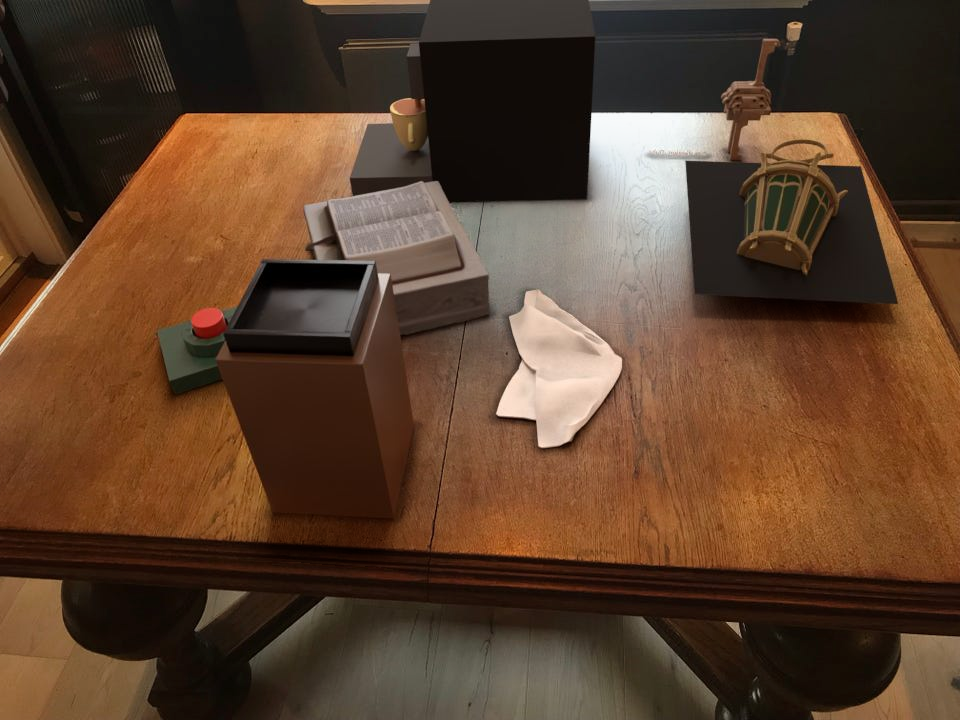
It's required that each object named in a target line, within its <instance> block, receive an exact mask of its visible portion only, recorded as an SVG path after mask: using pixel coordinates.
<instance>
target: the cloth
mask: <svg viewBox="0 0 960 720" xmlns="http://www.w3.org/2000/svg"><path fill="white" fill-rule="evenodd" d="M524 295H525V296H524V301H523V307H522V308H521V310H520V311H519V312H517V313H513V314H511V315H509V316H508V319H509V323H510V328H511V331H512V335H513V336H512V337H513V338H514V341H515V345H516V347H517V351H518V354H519V355H520V357H521V362H520V364H519V366H518V369H517V371H516V372H515V373H514V375H513V376H512V377H511V379H510V380H509V382H508V384H507V385H506V388H505V389H504V391H503V394H502V396H501V398H500V401H499V403H498V407H497V410H496V412H495V415H496V416H497V417H498V418H510V419H511V418H512V419H514V418H515V419H526V420H529V421H536V433H537V447H538V448H540V449H548V448H557V447H560V446H562V445H565V444H566V443H568V442H573V439H574V437H575V435H576V433H577V432H578V431H580V430H581V429H582V427H584V425H586V424H587V423H588V421H589V420H590V419H591V418H592V416H593V415H594V414H595V412H596V411H597V410H598V409H599V408H600V406H602V404H603V402H604V401H605V399H606V397H607V396H608V395H609V394H610V391H611V390H612V389H613V387H614V385H615V384H616V382H617V380H618V379H619V377H620V375H621V373H622V369H623V357H621V356H620V355H617V354H616V353H615V352H614V350H613V349H612V348H611V346H610V345H609V343H607V342H606V341H605V340H604V339H602V338H601V337H600V336H599V335H598V334H597V333H595V332H594V331H593V330H592V329H590V328H589V327H587V326H586V325H584V324H583V323H581V322H580V321H579V320H578V319H577V318H576V317H575V316H574V315H572V314H570V313H569V312H567V311H565V310H563V309H562V308H560V306H559V305H558V304H557V303H556V302H554V300H553V299H551V298H550V297H549V296H547V295H545V294H543V293H542V291H541V289H540V288H537V289H531V290H527V291H525V294H524Z"/></svg>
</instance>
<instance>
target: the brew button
mask: <svg viewBox="0 0 960 720" xmlns="http://www.w3.org/2000/svg"><path fill="white" fill-rule="evenodd" d="M220 310H221V309H219V308H216V307H208V308H207V307H206V308H203V309H200V310H197V312H196V313H194V314H193V315H192V317H191V318H190V319H191V324H192V326H193V329H194V331H195V334H196V335H197V336H198V337H199V338H202V339H209V338H213V337H216V336H219V335H220V334H221V333H223V332H224V331H225V329H226V322H225V319H224V316H223V313H222V312H221V311H220Z"/></svg>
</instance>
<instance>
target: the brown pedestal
mask: <svg viewBox="0 0 960 720" xmlns="http://www.w3.org/2000/svg"><path fill="white" fill-rule="evenodd" d="M223 335H224V338H225V342H224V344H223V346H222V348H221V350H220V352H219V354H218V356H217V358H216V359H215V361H216V363H217V366H218V368H219V371H220V374H221V376H222V381H223V385H224V387H225V390H226V393H227V395H228V397H229V401H230V404H231V405H232V408H233V411H234V414H235V416H236V419H237V421H238V424H239V427H240V430H241V432H242V434H243V438H244V440H245V443H246V445H247V448H248V450H249V453H250V456H251V459H252V462H253V464H254V466H255V469H256V472H257V474H258V477H259V480H260V483H261V486H262V488H263V491H264V493H265V496H266V499H267V502H268V505H269V507H270V510H271V512H272V513H278V514H295V515H296V514H298V515H315V516H316V515H318V516H332V517H333V516H338V517H354V518H356V517H357V518H371V519H392V520H393V519H395V517H396V512H397V508H398V503H399V498H400V494H401V489H402V485H403V481H404V475H405V471H406V465H407V461H408V456H409V452H410V447H411V443H412V438H413V433H414V429H415V423H414V416H413V409H412V404H411V398H410V390H409V384H408V378H407V371H406V365H405V364H406V363H405V358H404V352H403V346H402V339H401V335H400V331H399V325H398V318H397V312H396V305H395V299H394V292H393V286H392V280H391V274H384V273H378V272H377V266H376V261H358V260H315V259H300V258H299V259H297V258H296V259H293V258H291V259H287V258H262V259H261V260H260V262H259V264H258V266H257V268H256V269H255V272H254V274H253V276H252V278H251V280H250V281H249V284H248V285H247V287H246V290H245V291H244V294H243V295H242V297H241V299H240V301H239V303H238V305H237V308H236V310H235V312H234V314H233V316H232V318H231V320H230V322H229V324H228V325H227V327H226V329H225V331H224V333H223Z"/></svg>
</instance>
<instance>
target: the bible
mask: <svg viewBox="0 0 960 720" xmlns="http://www.w3.org/2000/svg"><path fill="white" fill-rule="evenodd" d="M302 207H303V208H302V210H303V216H304V220H305V222H306V227H307V231H308V235H309V239H310V240H309V241H310V243H309V244H308V245H307V246H306V247H305V249H304V251H305V252H312V255H313V260H358V261H376V266H377V272H378V273H384V274H391V280H392V286H393V292H394V299H395V305H396V312H397V318H398V325H399V331H400V336H404V335H406V336H408V335H410V334H416V333H420V332H423V331H428V330H429V331H430V330H433V329H437V328H440V327H446V326H449V325H452V324H459V323H461V324H462V323H463V322H469V321H471V320H474V319H478V318H481V317H484V316H488V315H490V313H491V312H490V305H489V304H490V303H489V300H490V285H489V283H490V281H489V279H490V274H489V271H488V269H487V268H486V266H485V264H484V263H483V261H482V259H481V257H480V256H479V254H478V252H477V250H476V248H475V247H474V244H473V243H472V241H471V238H470V236H469V235H468V232H467V231H466V229H465V228H464V225H463V224H462V222H461V221H460V219H459V218H458V216H457V214H456V213H455V210H454V209H453V207H452V205H451V202H449V201H448V200H447V198H446V196H445V194H444V192H443V190H442V188H441V185H440V183H439V182H438V181H433V182H427V183H424V182H423V181H420V182H417V183H414V184H411V185H408V186H405V187H400V188H395V189H389V190H384V191H378V192H374V193H368V194H362V195H357V196H353V195H352V196H347V197H341V198H330V199H327V200H323V201H318V202H313V203H308V204H304V205H302Z"/></svg>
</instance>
